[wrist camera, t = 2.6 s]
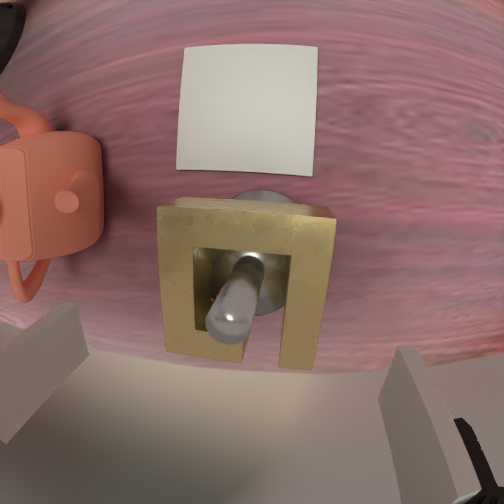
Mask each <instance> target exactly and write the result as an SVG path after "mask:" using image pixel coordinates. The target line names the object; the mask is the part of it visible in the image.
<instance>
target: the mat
mask: <svg viewBox="0 0 504 504" xmlns="http://www.w3.org/2000/svg"><path fill="white" fill-rule="evenodd" d="M317 55H318V47H310V46H297V45H280V44H228V45H210V46H198V47H188V48H185V52H184V61H183V70H182V80H181V92H180V104H179V119H178V137H177V160H176V170H221V171H244V172H262V173H277V174H290V175H301V176H312V171H313V156H314V140H315V121H316V97H317Z"/></svg>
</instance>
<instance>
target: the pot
mask: <svg viewBox="0 0 504 504" xmlns="http://www.w3.org/2000/svg"><path fill="white" fill-rule="evenodd" d="M0 118H1V119H4V120H6V121H9V122H11V123H12V124H14V126H15V127H16V128H17V131H18V133H19V137H20V138H19V139H16V140H14V141H11V142H9V143H7V144H4V145H2V146H0V259H1V260H5V261H7V269H8V274H9V279H10V283H11V287H12V290H13V292H14V295H15V296H16V298H17V299H18V300H19V301H20V302H23V303H27V302H29V301H31V300H32V299H33V297H34V296H35V295H36V293H37V291H38V290H39V288H40V286H41V284H42V281H43V279H44V276H45V274H46V271H47V268H48V266H49V263H50V260H51V258H56V257H61V256H65V255H69V254H72V253H75V252H78V251H81V250H83V249H86V248H88V247H90V246H92V245H93V244H94V243H95V242H96V241H97V240H98V239H99V237H100V236H101V234H102V232H103V229H104V185H103V163H102V150H101V146H100V144H99V142H98V141H97V140H96V139H95V138H93V137H92V136H91V135H88V134H86V133H82V132H76V131H53V130H52V128H51V125H50V123H49V121H48V120H47V118H46V117H45V116H44V115H43V114H42V113H41V112H39V111H37V110H35V109H33V108H30V107H26V106H22V105H19V104H15V103H13V102H11V101H9V100H8V99H6V98H5V97H4V96H3V94H2V93H1V91H0ZM33 260H37V261H36V263H35V265H34V267H33V269H32V271H31V273H30V274H29V276H28V277H27V278H26V280H25V281H24V282H23V280H22V277H21V273H20V267H19V261H33Z"/></svg>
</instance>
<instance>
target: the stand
mask: <svg viewBox="0 0 504 504" xmlns="http://www.w3.org/2000/svg"><path fill="white" fill-rule="evenodd" d="M232 199H237V200H252V201H266V202H279V203H291V204H296V203H295V202H294V201H293V200H291V199H290V198H289V197H287V196H285V195H283V194H281V193H279V192H275V191H272V190H265V189H257V190H250V191H247V192H244V193H241V194H239V195H237V196H236V197H234V198H232ZM289 258H290V255H281V254H270V253H259V252H248V251H236V250H225V249H214V248H212V298H213V299H214V300H215V302H214V303H213V305H212V307H211V309H210V311H209V313H208V314H207V317H206V320H205V324H206V329H207V331H208V333H209V334H210V335H211V336H212V337H213V338H214V339H215V340H217V341H219V342H221V343H224V344H238V343H240V342H242V341H244V340H245V339H246V338H247V337H248V335H249V333H250V329H251V325H252V321H253V317H254V316H258V315H265V314H268V313H271V312H274V311H276V310H278V309H280V308H281V307H283V306H284V305H285V297H286V288H287V278H288V268H289Z"/></svg>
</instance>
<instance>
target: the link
mask: <svg viewBox="0 0 504 504" xmlns="http://www.w3.org/2000/svg"><path fill="white" fill-rule="evenodd" d="M336 222H337V219H336V217H335V216H334V215H333V214H332V212H331V211H330V210H329V209H328V208H327V207H323V206H313V205H302V204H291V203H279V202H266V201H252V200H237V199H220V198H200V197H181V198H178V199H176V200H173V201H170V202H167V203H164V204H161V205H158V206H157V240H158V263H159V280H160V293H161V306H162V316H163V326H164V336H165V344H166V351H168V352H173V353H179V354H184V355H189V356H195V357H201V358H207V359H213V360H220V361H227V362H234V363H241V364H242V360H243V356H244V352H245V349H246V345H247V341H248V337H249V335H248V337H247V338H246V339H245V340H244V341H242V342H240V343H238V344H224V343H221V342H219V341H217V340H215V339H214V338H213V337H212V336H211V335H210V334H209V333H208V331H207V329H206V324H205V320H206V317H207V314H208V313H209V311H210V309H211V307H212V305H213V303H214V302H215V300H212V248H214V249H225V250H236V251H248V252H259V253H270V254H281V255H290V258H289V268H288V278H287V288H286V297H285V306H284V314H283V323H282V331H281V343H280V355H279V366H278V368H289V369H301V370H312V366H313V362H314V357H315V352H316V348H317V343H318V338H319V332H320V327H321V322H322V316H323V311H324V305H325V299H326V293H327V287H328V281H329V274H330V268H331V261H332V254H333V246H334V239H335V231H336Z"/></svg>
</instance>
